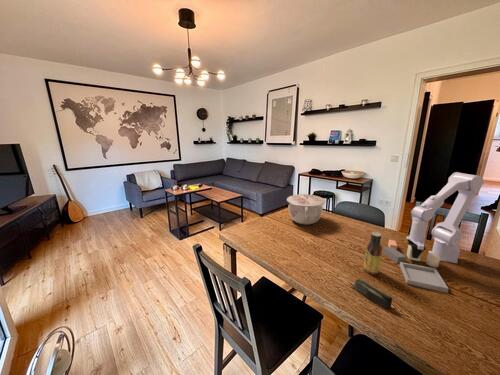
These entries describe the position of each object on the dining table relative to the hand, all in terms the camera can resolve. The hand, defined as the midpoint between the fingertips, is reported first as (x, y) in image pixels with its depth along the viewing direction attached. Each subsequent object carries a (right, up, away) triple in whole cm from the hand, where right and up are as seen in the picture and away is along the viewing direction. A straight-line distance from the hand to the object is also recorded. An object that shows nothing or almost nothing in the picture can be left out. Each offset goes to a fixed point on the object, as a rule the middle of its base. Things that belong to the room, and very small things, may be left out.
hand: (413, 255), depth 104 cm
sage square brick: (0, -1, 0) cm, 2 cm away
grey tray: (-6, -7, -12) cm, 14 cm away
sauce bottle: (-25, -6, -6) cm, 27 cm away
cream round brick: (+7, -4, -2) cm, 9 cm away
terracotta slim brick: (-2, 0, +12) cm, 13 cm away
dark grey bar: (-34, -10, -21) cm, 41 cm away
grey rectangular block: (-7, -3, +4) cm, 9 cm away
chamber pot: (-42, +9, +51) cm, 66 cm away
